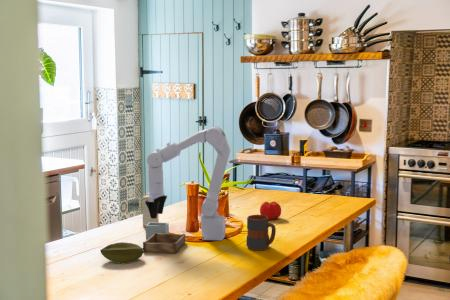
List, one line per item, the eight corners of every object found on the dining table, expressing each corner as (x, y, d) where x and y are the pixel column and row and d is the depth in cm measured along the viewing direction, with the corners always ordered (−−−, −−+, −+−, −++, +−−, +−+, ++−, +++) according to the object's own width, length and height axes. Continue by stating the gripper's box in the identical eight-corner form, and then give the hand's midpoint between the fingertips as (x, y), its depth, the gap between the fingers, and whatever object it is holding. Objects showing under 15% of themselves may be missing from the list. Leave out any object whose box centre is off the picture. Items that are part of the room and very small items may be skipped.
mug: (269, 254, 214) (268, 222, 212) (241, 248, 221) (241, 217, 220) (281, 248, 221) (281, 217, 219) (254, 242, 228) (254, 213, 226)
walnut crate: (185, 243, 228) (185, 233, 228) (175, 253, 215) (175, 243, 215) (154, 242, 231) (154, 232, 230) (143, 252, 218) (142, 242, 217)
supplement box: (153, 227, 253) (152, 197, 251) (142, 227, 254) (141, 196, 252) (159, 222, 261) (158, 193, 259) (148, 222, 262) (147, 193, 260)
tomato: (257, 220, 263) (257, 203, 262) (263, 215, 271) (263, 199, 270) (277, 222, 259) (277, 205, 258) (283, 217, 267) (283, 201, 266)
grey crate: (168, 236, 239) (168, 222, 238) (165, 239, 234) (164, 226, 233) (149, 235, 240) (149, 222, 240) (145, 238, 235) (145, 225, 235)
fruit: (125, 268, 201) (124, 249, 200) (99, 262, 207) (98, 244, 206) (147, 259, 210) (146, 241, 209) (121, 254, 216) (120, 236, 216)
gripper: (152, 178, 242) (152, 211, 244) (140, 185, 228) (141, 220, 230) (168, 179, 241) (169, 211, 242) (157, 185, 226) (158, 220, 228)
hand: (156, 215), depth 236 cm, fingers open, 7 cm apart
